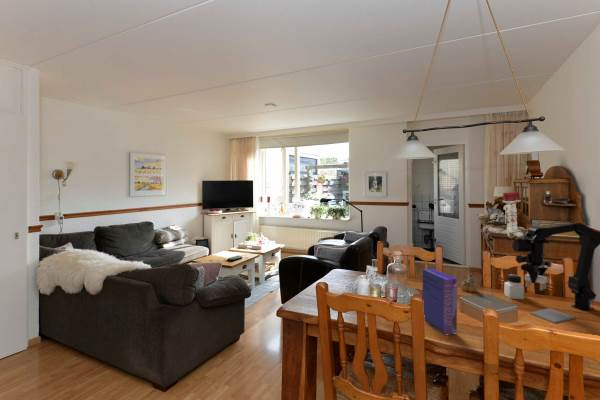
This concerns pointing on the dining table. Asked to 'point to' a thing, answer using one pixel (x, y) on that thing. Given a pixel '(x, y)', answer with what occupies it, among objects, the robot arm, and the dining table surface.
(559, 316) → the tile
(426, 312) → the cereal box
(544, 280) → the stool
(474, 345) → the dining table surface
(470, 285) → the ornament
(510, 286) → the medicine bottle
